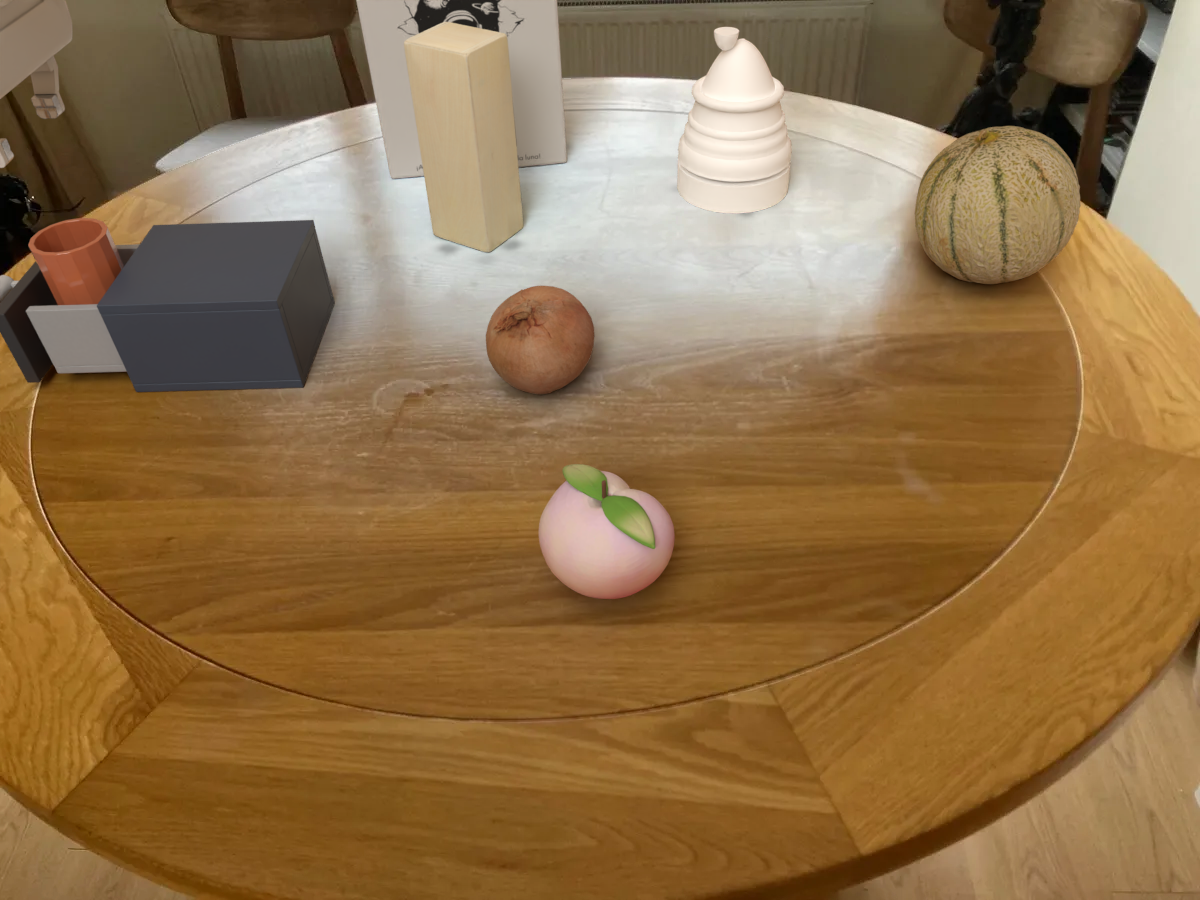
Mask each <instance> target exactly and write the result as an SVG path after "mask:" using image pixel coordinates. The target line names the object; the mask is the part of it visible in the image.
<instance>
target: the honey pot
mask: <svg viewBox="0 0 1200 900" xmlns="http://www.w3.org/2000/svg"><path fill="white" fill-rule="evenodd" d="M739 34H740V30H739V29H738V28H737V27H733V26H721V27H717V28H715V29H714V30H713V38H714V42H715V44H716V46H717V47H718V48H719V49H720V50H721V51H720V52H719V54H717V56H716V58H715V59H714V60H713V62H712V64H711V65H710V68H709V69H708V71H707V73H706V75H704V76H702V77H700V78H699V79H697V80H696V81H695V82H694V84H693V85H692V86H691V95H692V98H693V99H694V103H693V106H692V108H691V109H690V111H689V112H688V115H687V121H686V123H685V126H684V130H683V134H681V136H680V138H679V142H678V148H677V151H678V152H677V153H678V155H677V178H676V181H677V182H676V189H677V192H678V194H679V197H681V198H682V199H683V201H685V202H686V203H688V204H690V205H692V206H694V207H696V208H698V209H702V210H704V211H707V212H712V213H713V212H714V213H720V214H732V215H733V214H737V215H738V214H740V215H741V214H748V213H750V214H751V213H755V212H759V211H763V210H767V209H769V208H771V207H773V206H777V205H778V204H779V203H780V202H781V201H783V200H785V197H786V195H788V191H789V182H790V171H791V161H792V149H793V148H792V140H791V138H790V137H789V134H788V125H787V124H786V114H785V112H784V110H783V108H782V105H781V101H782V99H783V97H784V95H785V87H784V85H783V84H782V82H781V81H780V80H779V79H777V78H775V77H774V76H772V73H771V70H770V68H769V65H768V64H767V62H766V60H765V58H764V56H763V55H762V53H761V51H760V50H759V49H758V48H757V47H756V45H755V44H754V43H753V42H751V41H749V40H747V39H746V38H739Z"/></svg>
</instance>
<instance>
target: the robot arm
mask: <svg viewBox="0 0 1200 900" xmlns="http://www.w3.org/2000/svg"><path fill="white" fill-rule="evenodd" d="M72 41H73V19H72V17H71V14H70V10H69V7H68V4H67V0H0V100H1V99H3V98H4V97H5V96H6V95H8V93H10V92H11V91H12V90H13V89H15V88H16V87H17V86H18V85H20V84H21V83H22V82H23V81H24V80H25V79H27V78H28V77H29V76H30V79H31V84H32V89H33V94H34V95H32V97H31V98H30V101H31V104H32V105H33V107H34V108H35V112H36V115H37V116H38V117H39V118H40V119H43V120H49V119H52V120H54V119H55V120H56V119H57V118H59V116H61V115H62V114H63V113H64V112H65V111H66V106H65V104H64V101H63V99H62V96H61V93H60V80H59V79H60V76H59V65H58V63H57V60H56V58H55V55H56V54H57V53H59V52H60V51H61V50H62V49H63V48H65V47H66V46H67V45H68V44H69V43H71V42H72ZM14 158H15V154H14V152H13V151H12V150H11V145H10V143H9V141H8V139H7V138H6V137H5V138H4V137H3V138H2V137H1V138H0V169H3V168H5V167H6V166H7V165H9V163H11V162H12V160H14Z"/></svg>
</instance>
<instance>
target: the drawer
mask: <svg viewBox="0 0 1200 900" xmlns="http://www.w3.org/2000/svg"><path fill="white" fill-rule="evenodd" d="M139 245H140V243H133V244H132V243H131V244H115V246H116V248H117V251H118V253H119V255H120V258H121V260H122V263H123V265H124V266H125V265H126V263H127V262H128V260H129V259H130V258H131V256H132V255H133V253H134V252H135V251H136V249H137V248H138V246H139ZM0 335H1V337H2V338H3V341H4V342H5V345H6V346H7V348H8V350H9V352H10V353H11V355H12V357H13V359H14V361H15V362H16V364H17V366H18V368H19V370H20V371H21V373H22V375H23V377H24V379H25V381H26V382H27V383H28V384H32V383H41V382H42V381H43V379H44V378H45V376H46V375H47V373H48V372H49V371H50V369H51V368H52V366H54V368H55V370H56V372H57V374H87V373H88V374H92V373H124V372H125V373H127V371H126V369H125V367H124V365H123V362H122V360H121V358H120V356H119V354H118V351H117V349H116V347H115V345H114V343H113V340H112V338H111V336H110V334H109V332H108V330H107V327H106V325H105V323H104V321H103V319H102V316H101V314H100V313H99V310H98V308H97V304H85V305H57V303H56V301H55V299H54V297H53V295H52V293H51V291H50V289H49V287H48V285H47V283H46V281H45V279H44V277H43V275H42V273H41V271H40V269H39V267H38V265H37V263H36V261H35V260H34V262H33V263H32V265H30V267H29V268H28V269H27V270H26V272H24V274H23V275H22V277H21V278H20V279H19V280H14V279H13V278H12V277H11V276H9V275H6V274H1V275H0Z"/></svg>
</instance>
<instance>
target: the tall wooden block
mask: <svg viewBox="0 0 1200 900" xmlns="http://www.w3.org/2000/svg"><path fill="white" fill-rule="evenodd" d="M404 50H405V56H406V63H407V69H408V75H409V82H410V88H411V95H412V101H413V107H414V114H415V120H416V126H417V132H418V140H419V146H420V153H421V159H422V165H423V172H424V176H423V177H424V184H425V191H426V196H427V197H426V198H427V203H428V209H429V215H430V223H431V228H432V234H433V235H434V236H435V237H437V238H440V239H443V240H446V241H450V242H452V243H456V244H458V245H462V246H465V247H468V248H471V249H474V250H477V251H480V252H482V253H491V252H492V251H493V250H495V249H497V247H500V246H501V245H503V243H504V242H506V241H508V240H509V239H510V238H511V237H513V236H514V235H516V234H517V233H519V232H520V231H521V230H522V229H523V228H524V218H523V217H524V216H523V204H522V193H521V192H522V191H521V181H520V170H519V169H520V167H518V157H517V145H516V134H515V122H514V111H513V99H512V86H511V74H510V62H509V50H508V40H507V35H506V34H504V33H500V32H495V31H490V30H486V29H481V28H476V27H471V26H466V25H461V24H456V23H451V22H443V23H440V24H438V25H436V26H434V27H432V28H430V29H428V30H425V31H423V32H421V33H419V34H417V35H415V36H413V37H410V38H408V39H407V40H405V41H404Z"/></svg>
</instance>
